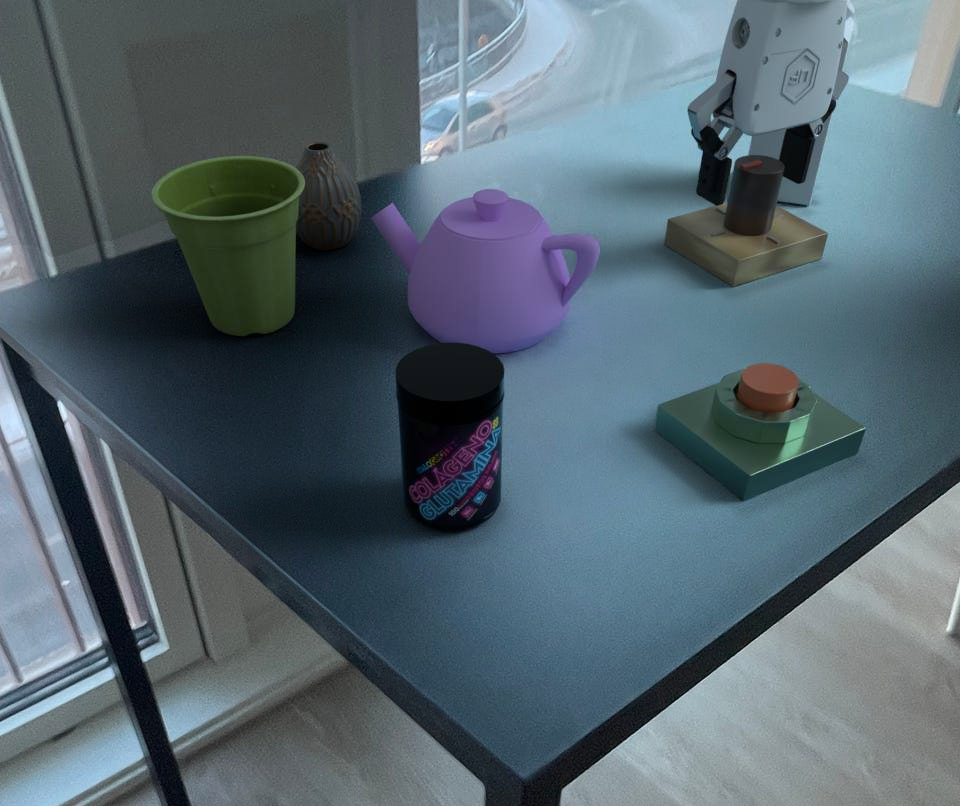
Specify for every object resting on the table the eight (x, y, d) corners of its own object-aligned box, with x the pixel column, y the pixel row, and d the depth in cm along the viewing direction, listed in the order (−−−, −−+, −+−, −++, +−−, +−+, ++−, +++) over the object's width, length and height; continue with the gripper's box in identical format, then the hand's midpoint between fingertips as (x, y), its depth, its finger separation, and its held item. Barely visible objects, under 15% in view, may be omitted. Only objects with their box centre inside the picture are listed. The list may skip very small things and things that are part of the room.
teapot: (411, 261, 94) (406, 142, 86) (615, 304, 89) (629, 181, 81) (339, 330, 85) (326, 204, 78) (561, 382, 80) (571, 252, 72)
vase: (302, 262, 94) (290, 165, 87) (284, 232, 98) (271, 137, 92) (373, 250, 96) (366, 154, 89) (352, 221, 100) (343, 127, 94)
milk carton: (739, 198, 104) (780, -15, 91) (749, 172, 109) (789, -34, 95) (809, 207, 103) (861, -8, 89) (816, 180, 108) (866, -28, 94)
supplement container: (386, 521, 68) (375, 386, 60) (428, 466, 72) (423, 333, 65) (478, 547, 66) (479, 411, 59) (515, 488, 70) (521, 355, 63)
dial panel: (750, 219, 101) (755, 192, 99) (822, 258, 95) (829, 231, 93) (663, 244, 97) (667, 216, 95) (733, 287, 91) (738, 258, 89)
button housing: (764, 388, 79) (775, 342, 77) (858, 452, 74) (873, 405, 71) (654, 429, 75) (661, 382, 73) (743, 501, 70) (755, 453, 67)
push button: (766, 378, 74) (771, 357, 73) (805, 404, 72) (811, 383, 70) (724, 394, 72) (729, 372, 71) (763, 421, 70) (768, 399, 69)
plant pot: (209, 280, 91) (184, 150, 83) (336, 291, 90) (322, 160, 82) (159, 346, 83) (125, 210, 75) (297, 360, 82) (278, 223, 74)
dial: (749, 211, 96) (761, 147, 92) (781, 228, 94) (795, 164, 89) (713, 221, 95) (725, 157, 90) (745, 239, 92) (758, 174, 88)
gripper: (746, -5, 74) (703, 225, 86) (910, -33, 80) (848, 185, 93) (681, -30, 78) (649, 192, 91) (841, -54, 85) (791, 157, 97)
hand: (750, 188), depth 92 cm, fingers open, 9 cm apart
